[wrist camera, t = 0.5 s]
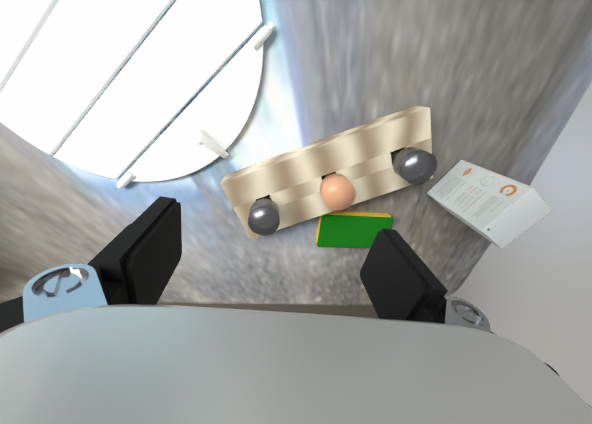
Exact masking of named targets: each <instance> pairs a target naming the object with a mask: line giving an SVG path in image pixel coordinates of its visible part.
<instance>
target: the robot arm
mask: <svg viewBox="0 0 592 424" xmlns="http://www.w3.org/2000/svg"><path fill="white" fill-rule="evenodd" d="M181 254H182V242H181V204H180V203H179V202H176V199H174V198H167V197H159V198H158V199H157V200H156V201H155V202H154V203H153V204H152V205H151V206H150V207H149V208H148V209H146V210H145V211H144V212H143V213H142V214H141V215H140V216H139V217H138V218H137V219H136V220H135V221H134V222H133V223H132V224H130V225H128V226H127V227H126V228H125V229H124V230H123V231H122V232H121V233H120V234H118V235H117V236H116V237H115V238H114V239H113V240H112V241H111V242H110V243H109V244H108V245H107V246H106V247H105V248H104V249H103V250H102V251H101V252H100V253H99V254H98V255H96V256H95V257H94V258H93V259H92V260H91V261H90V262H89V263H88V264H80V263H75V264H65V265H60V266H56V267H53V268H50V269H48V270H45V271H43V272H41V273H39V274H37V275H36V276H35V277H33V278H32V279H30V280H29V281H28V283H27V284H26V285H25V286H24V289H23V296H21V297H18V298H16V299H13V300H10V301H7V302H4V303H1V304H0V424H592V407H591V406H590V405H588V404H587V403H586V402H585V401H584V400H583V399H582V398H581V397H580V396H579V395H578V394H577V393H576V392H575V391H574V390H573V389H572V388H571V387H569V386H568V385H567V384H566V383H565V382H564V381H563V380H562V379H561V378H560V377H559V375H558V373H557V372H556V371H555V370H554V369H553V368H552V367H550V366H549V365H548V364H546V363H545V362H543V361H542V360H540V359H539V358H538V357H537V356H536V355H535V354H533V353H532V352H531V351H529V350H528V349H526V348H524V347H522V346H521V345H519V344H517V343H515V342H513V341H510V340H508V339H506V338H503V337H501V336H498V335H496V334H494V333H493V332H491V331H490V325H489V322H488V319H487V318H486V316H485V315H484V314H483V313H482V312H481V311H480V310H479V309H478V308H477V307H475V306H474V305H472V304H471V303H469V302H467V301H465V300H463V299H461V298H457V297H450V298H448V299H447V300H446V299H445V298H444V295H445V294H446V292H447V291H448V290H447V289H446V288H445V287H444V286H443V285H442V283H441V282H440V281H439V280H438V279H437V278H436V276H435V275H434V274H433V273H432V272H431V271H430V269H429V268H428V267H427V266H426V265H425V264H424V262H423V261H422V260H421V259H420V258H419V257H418V256H417V254H416V253H415V252H414V251H413V250H412V249H411V247H410V246H409V245H408V244H407V243H406V242H405V240H404V239H403V238H402V237H401V236H400V235H399V233H398V232H397V231H396V230H392V229H385V228H383V229H382V230H381V231H378V233H377V235H376V237H375V239H374V241H373V244H372V246H371V248H370V251H369V253H368V255H367V257H366V260H365V262H364V264H363V266H362V269H361V271H360V278H361V280H362V282H363V284H364V287H365V289H366V291H367V293H368V295H369V298H370V300H371V302H372V304H373V306H374V308H375V311H376V313H377V315H378V317H379V318H365V317H350V316H336V315H321V314H305V313H291V312H275V311H258V310H241V309H226V308H208V307H191V306H174V305H156V304H157V302H158V300H159V298H160V296H161V294H162V293H163V291H164V289H165V287H166V285H167V283H168V281H169V279H170V278H171V276H172V274H173V272H174V270H175V268H176V266H177V265H178V263H179V261H180V258H181Z"/></svg>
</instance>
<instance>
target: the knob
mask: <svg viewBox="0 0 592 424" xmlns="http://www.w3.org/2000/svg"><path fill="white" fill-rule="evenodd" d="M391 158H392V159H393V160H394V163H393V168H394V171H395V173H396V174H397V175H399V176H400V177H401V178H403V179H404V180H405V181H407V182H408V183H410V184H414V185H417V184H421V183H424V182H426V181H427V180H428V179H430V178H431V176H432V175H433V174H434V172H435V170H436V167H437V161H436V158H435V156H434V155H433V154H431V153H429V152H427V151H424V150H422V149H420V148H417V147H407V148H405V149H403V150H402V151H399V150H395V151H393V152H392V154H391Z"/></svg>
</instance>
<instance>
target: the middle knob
mask: <svg viewBox="0 0 592 424" xmlns="http://www.w3.org/2000/svg"><path fill="white" fill-rule="evenodd" d="M320 193H321V196H322V198H323V200H324V203H325V205H326V206H327V207H328V208H329V209H331V210H335V211H340V210H344V209H346V208H348V207H349V206H350V205H351V204H352V203H353V202H354V200H355V196H356V192H355V189H354V187H353V186H352V184H351V183H350V182H349V180H348V179H347V178H346V177H345V176H344V175H342V174H338V173H335V174H327V175H326V176H325V177H324V179H323V180H322V182H321V184H320Z"/></svg>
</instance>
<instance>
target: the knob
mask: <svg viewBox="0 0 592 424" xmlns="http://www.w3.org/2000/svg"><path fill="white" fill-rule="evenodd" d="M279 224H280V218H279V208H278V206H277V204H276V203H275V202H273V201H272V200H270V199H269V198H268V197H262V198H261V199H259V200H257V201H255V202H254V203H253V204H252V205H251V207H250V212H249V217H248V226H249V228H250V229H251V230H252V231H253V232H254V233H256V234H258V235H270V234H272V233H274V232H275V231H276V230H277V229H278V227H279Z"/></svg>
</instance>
